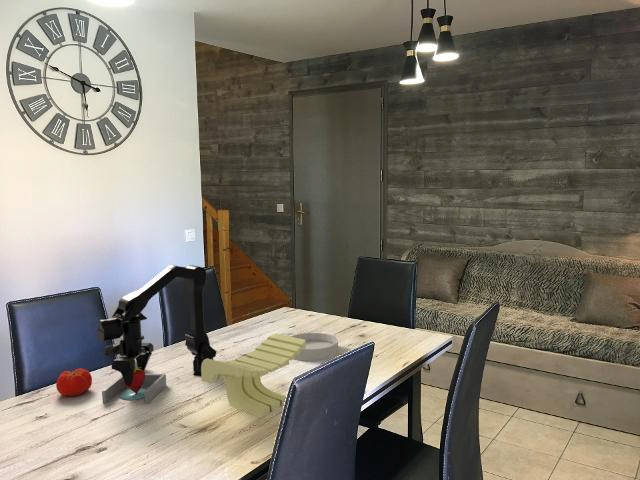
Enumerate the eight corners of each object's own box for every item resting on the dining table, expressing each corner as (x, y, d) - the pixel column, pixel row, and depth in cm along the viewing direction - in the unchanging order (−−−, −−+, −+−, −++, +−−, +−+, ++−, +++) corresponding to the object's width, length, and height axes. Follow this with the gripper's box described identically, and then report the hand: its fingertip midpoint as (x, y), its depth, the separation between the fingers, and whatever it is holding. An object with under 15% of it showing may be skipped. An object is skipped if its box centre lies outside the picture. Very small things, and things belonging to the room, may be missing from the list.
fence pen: (166, 385, 178) (165, 374, 177) (148, 403, 163) (147, 391, 162) (124, 384, 179) (123, 373, 179) (102, 403, 164) (101, 391, 164)
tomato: (54, 401, 166) (52, 379, 165) (61, 388, 177) (59, 367, 176) (90, 397, 169) (88, 375, 168) (95, 384, 180) (93, 364, 179)
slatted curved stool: (271, 381, 179) (269, 332, 177) (306, 392, 169) (305, 339, 167) (203, 413, 155) (200, 356, 153) (240, 428, 146) (238, 367, 144)
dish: (340, 344, 220) (340, 333, 219) (336, 362, 198) (336, 349, 197) (288, 343, 222) (288, 332, 221) (279, 361, 200) (279, 349, 199)
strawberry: (120, 395, 169) (117, 366, 168) (138, 386, 176) (135, 358, 174) (133, 398, 166) (130, 369, 165) (151, 389, 173) (148, 361, 172)
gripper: (121, 326, 179) (124, 370, 181) (93, 343, 160) (97, 391, 162) (152, 326, 178) (155, 370, 179) (128, 343, 159) (131, 392, 161)
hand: (135, 380), depth 171 cm, fingers open, 9 cm apart
